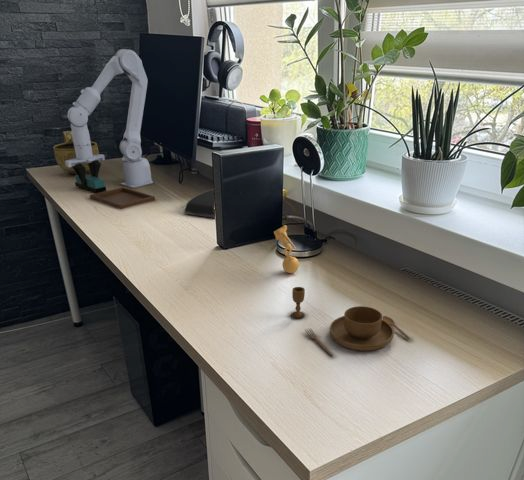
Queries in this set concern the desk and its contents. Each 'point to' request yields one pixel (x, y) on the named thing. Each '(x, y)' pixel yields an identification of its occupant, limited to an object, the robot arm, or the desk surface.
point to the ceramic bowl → (70, 152)
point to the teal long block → (91, 183)
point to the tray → (122, 197)
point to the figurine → (289, 262)
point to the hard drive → (201, 205)
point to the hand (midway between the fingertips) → (89, 184)
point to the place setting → (354, 326)
